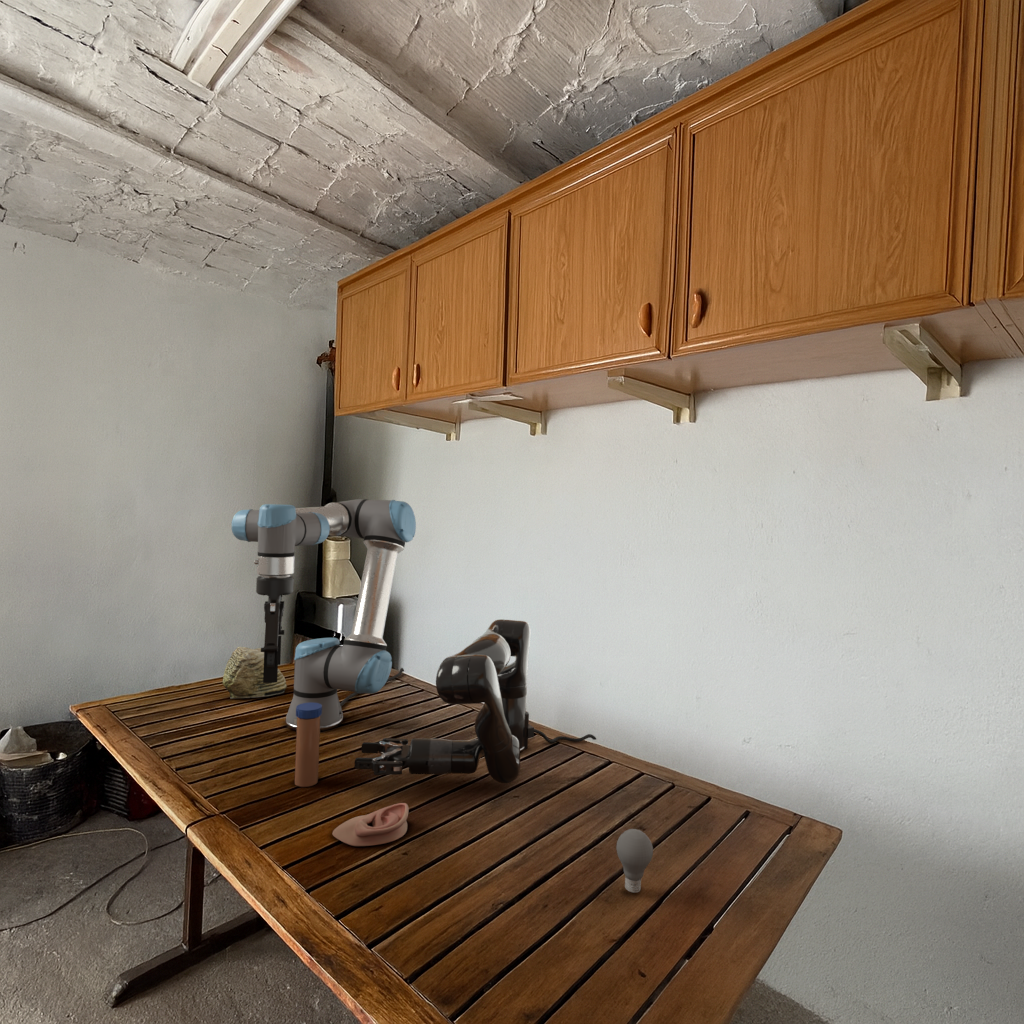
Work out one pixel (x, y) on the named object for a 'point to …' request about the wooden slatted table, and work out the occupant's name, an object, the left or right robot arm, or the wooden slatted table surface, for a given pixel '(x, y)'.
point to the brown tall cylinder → (307, 751)
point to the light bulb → (634, 857)
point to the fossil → (249, 675)
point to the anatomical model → (374, 826)
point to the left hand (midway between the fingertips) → (272, 673)
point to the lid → (308, 710)
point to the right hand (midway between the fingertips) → (358, 755)
